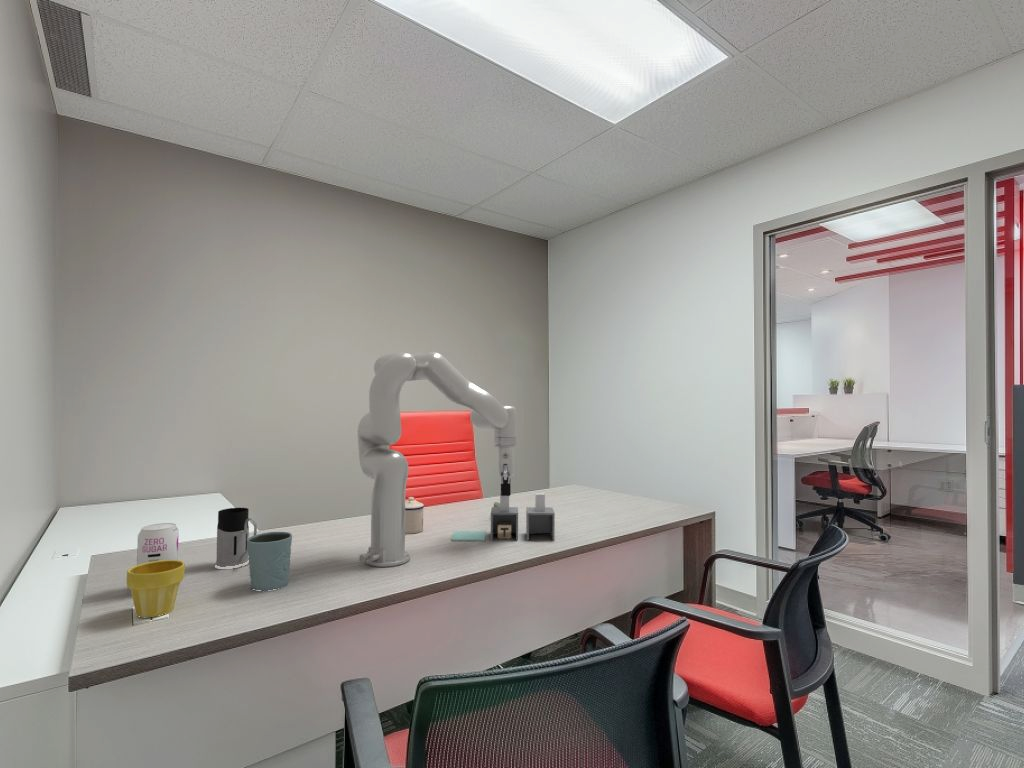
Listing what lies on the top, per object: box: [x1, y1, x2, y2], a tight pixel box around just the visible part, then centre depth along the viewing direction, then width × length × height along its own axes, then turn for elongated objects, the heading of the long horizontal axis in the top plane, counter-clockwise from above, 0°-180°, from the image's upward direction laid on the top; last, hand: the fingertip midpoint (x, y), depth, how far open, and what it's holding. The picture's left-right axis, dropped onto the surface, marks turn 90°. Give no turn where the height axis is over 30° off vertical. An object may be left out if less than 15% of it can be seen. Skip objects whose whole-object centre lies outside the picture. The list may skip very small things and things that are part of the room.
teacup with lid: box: [405, 496, 425, 535], centre depth 182 cm, size 12×9×12 cm
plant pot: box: [126, 559, 186, 618], centre depth 112 cm, size 10×10×10 cm
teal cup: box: [247, 531, 293, 592], centre depth 128 cm, size 10×10×12 cm
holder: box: [215, 507, 258, 567], centre depth 142 cm, size 9×14×15 cm, turn 62°
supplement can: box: [136, 522, 180, 566], centre depth 125 cm, size 8×8×15 cm
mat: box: [450, 530, 487, 542], centre depth 174 cm, size 11×11×1 cm
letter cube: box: [497, 522, 512, 539], centre depth 174 cm, size 5×4×4 cm
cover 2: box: [525, 492, 556, 541], centre depth 174 cm, size 9×9×14 cm
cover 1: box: [490, 492, 519, 541], centre depth 174 cm, size 9×9×14 cm
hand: (505, 492), depth 174 cm, fingers open, 9 cm apart
